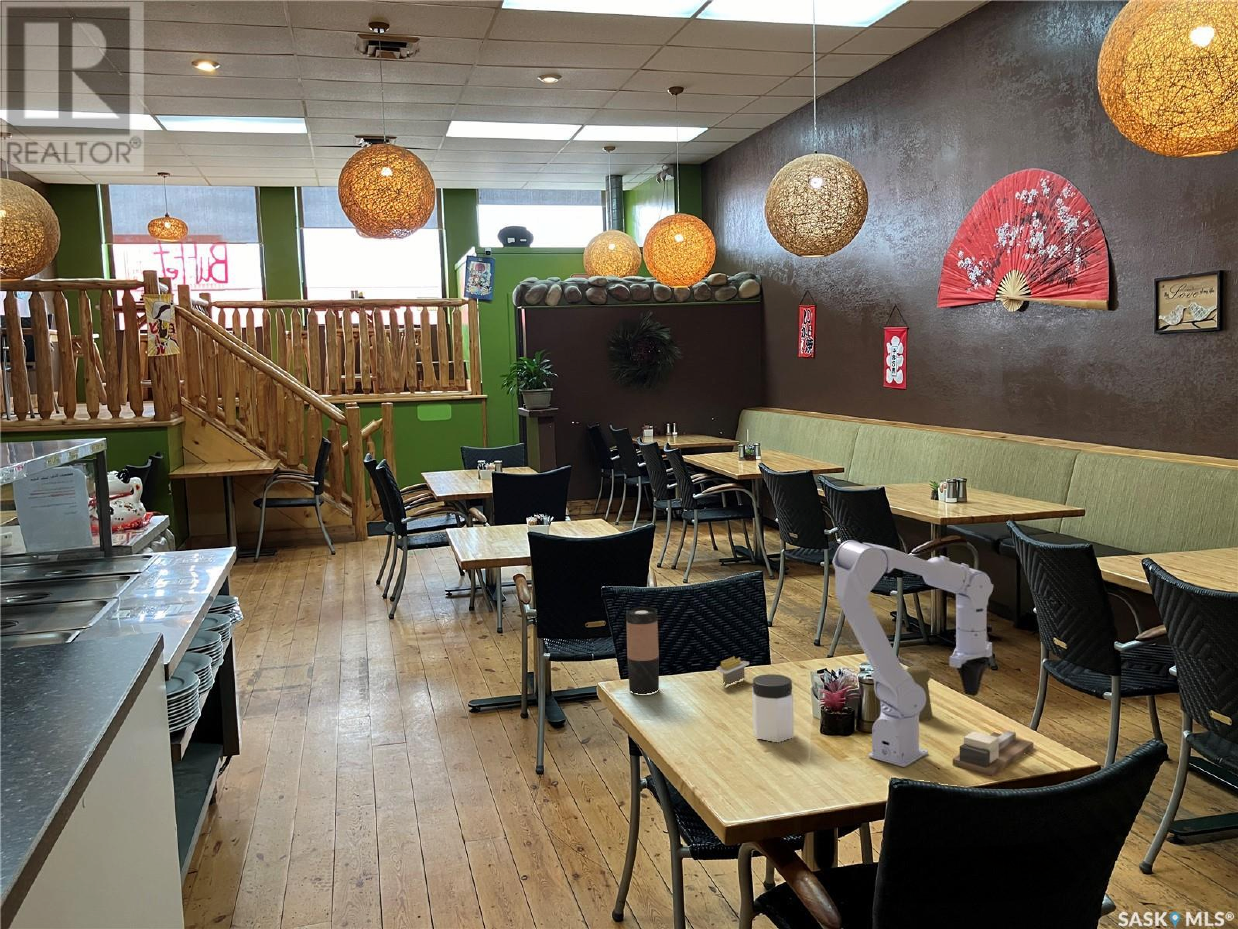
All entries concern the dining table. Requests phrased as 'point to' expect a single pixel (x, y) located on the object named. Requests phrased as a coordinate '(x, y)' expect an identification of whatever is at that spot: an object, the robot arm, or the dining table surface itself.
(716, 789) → the dining table surface
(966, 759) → the rail board
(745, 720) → the dining table surface
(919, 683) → the cork
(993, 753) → the slider
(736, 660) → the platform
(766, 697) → the jar
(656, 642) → the travel mug
